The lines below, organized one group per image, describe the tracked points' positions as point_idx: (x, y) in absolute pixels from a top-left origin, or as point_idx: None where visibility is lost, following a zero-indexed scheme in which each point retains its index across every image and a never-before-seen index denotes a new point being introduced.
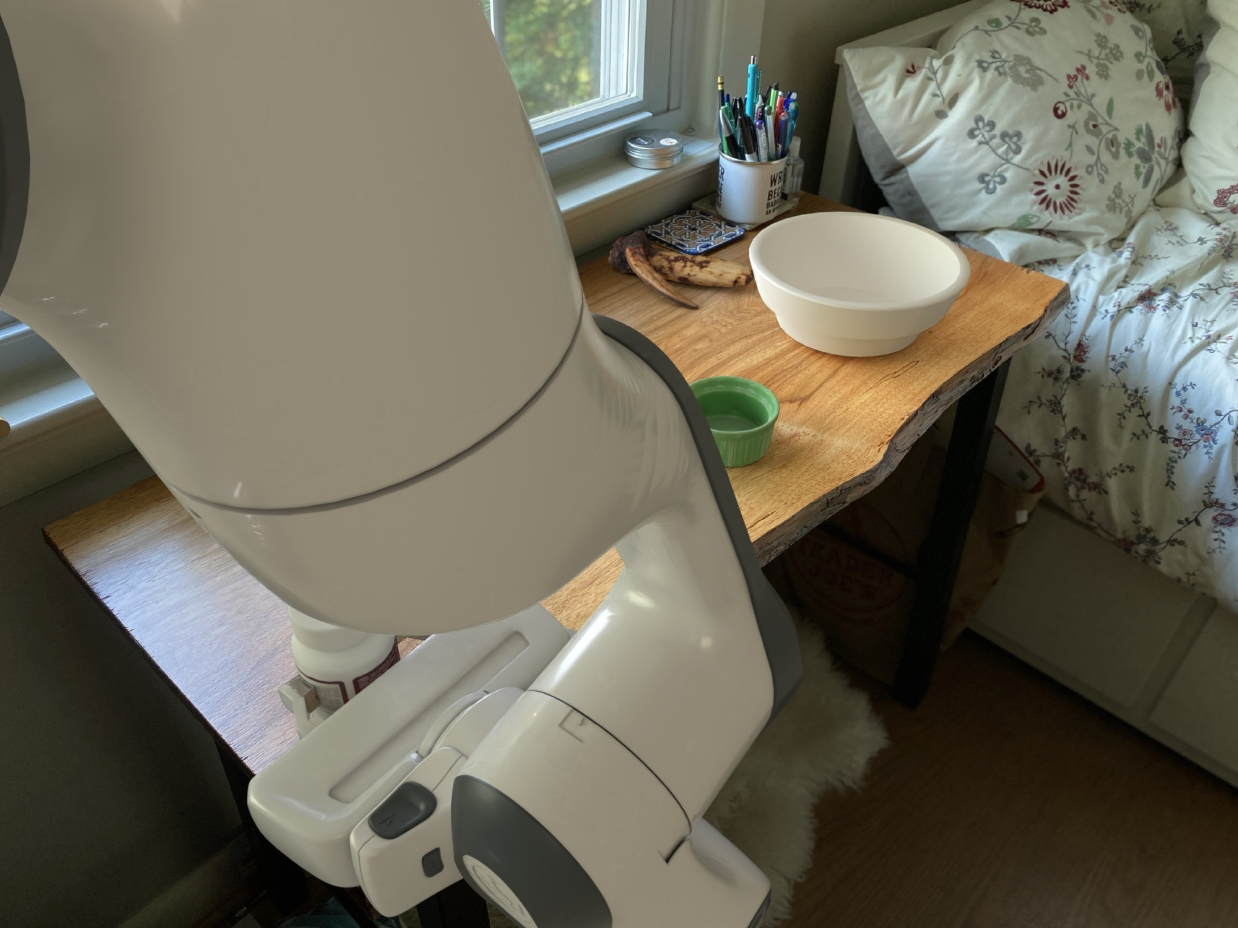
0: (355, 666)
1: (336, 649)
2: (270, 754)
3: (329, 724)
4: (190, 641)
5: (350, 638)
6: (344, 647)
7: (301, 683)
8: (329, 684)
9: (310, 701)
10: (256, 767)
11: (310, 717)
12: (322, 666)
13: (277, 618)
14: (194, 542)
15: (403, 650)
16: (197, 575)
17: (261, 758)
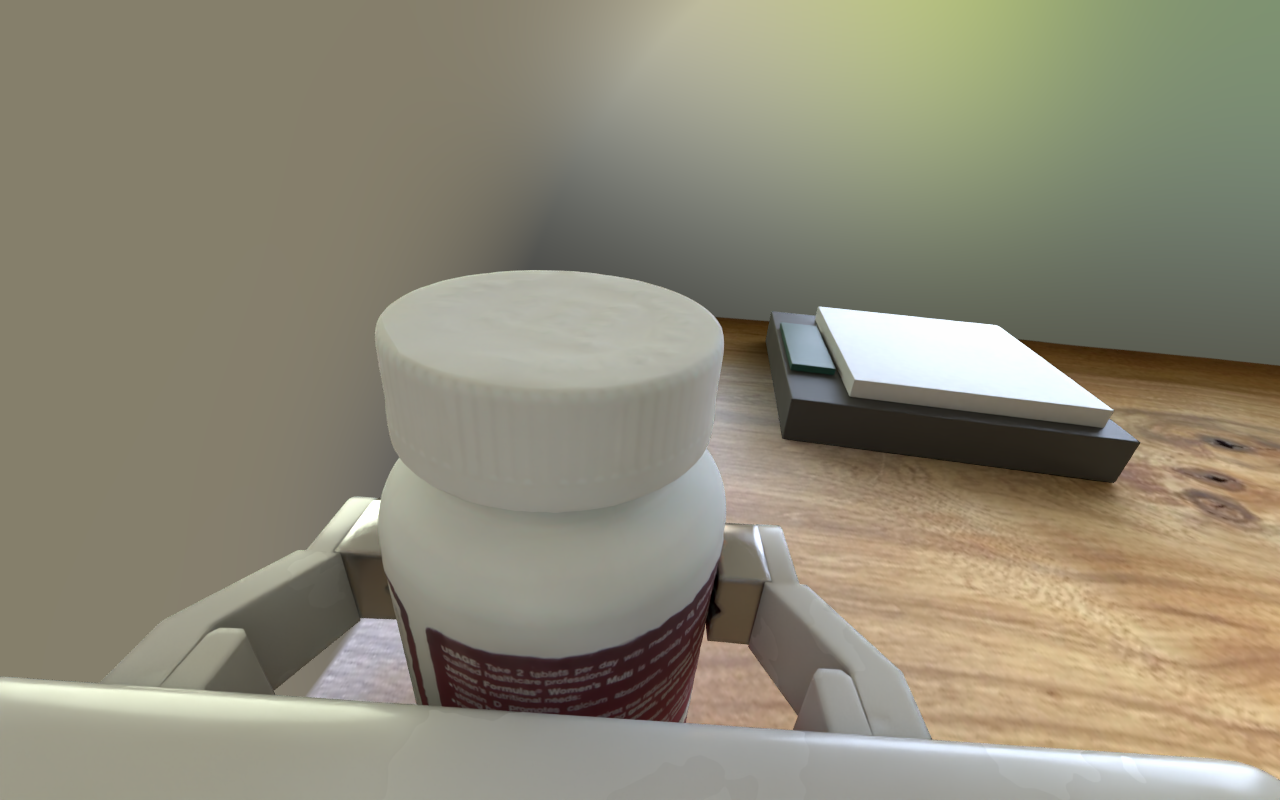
0: (440, 589)
1: (413, 469)
2: (393, 632)
3: (90, 727)
4: None
5: (454, 457)
6: (433, 482)
7: None
8: (387, 580)
9: (367, 587)
10: (354, 633)
11: (219, 628)
12: (387, 504)
13: None
14: None
15: (754, 660)
16: None
17: (378, 625)
